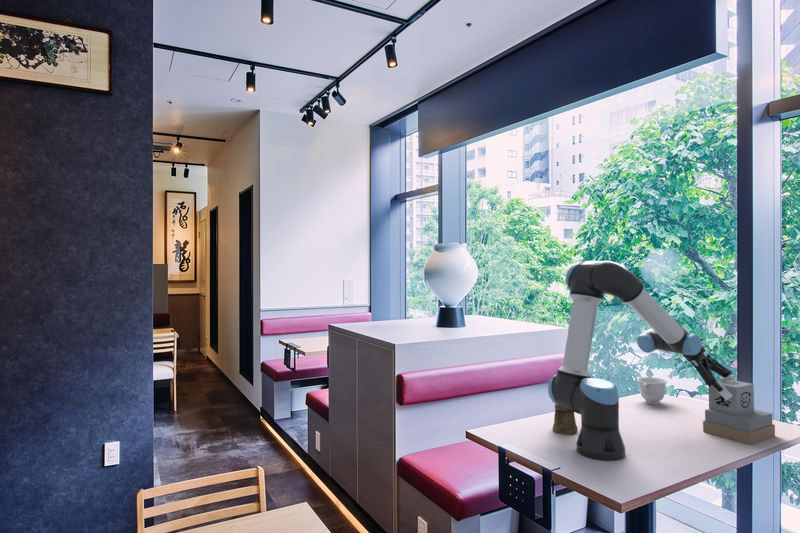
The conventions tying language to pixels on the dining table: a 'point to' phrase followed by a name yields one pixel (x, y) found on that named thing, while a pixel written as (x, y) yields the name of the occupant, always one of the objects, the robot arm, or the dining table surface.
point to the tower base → (739, 433)
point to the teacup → (652, 389)
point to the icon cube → (733, 398)
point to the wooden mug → (564, 421)
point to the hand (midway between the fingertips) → (735, 394)
